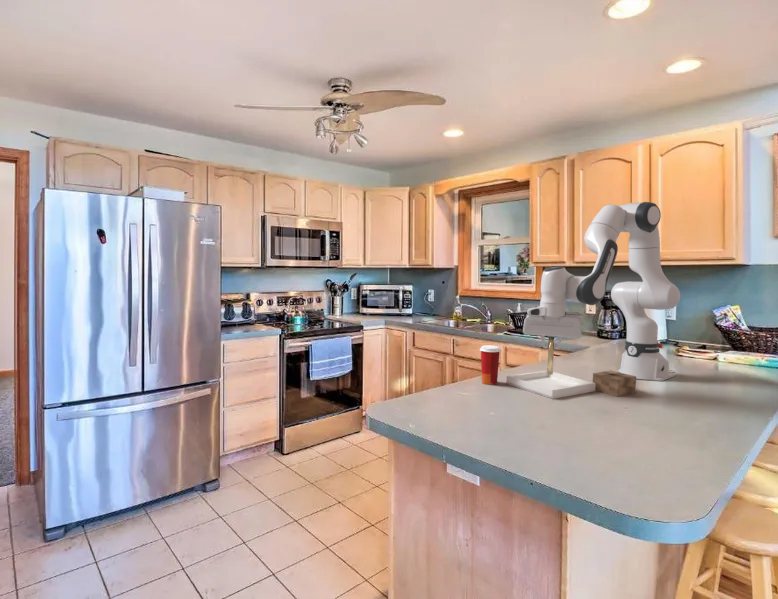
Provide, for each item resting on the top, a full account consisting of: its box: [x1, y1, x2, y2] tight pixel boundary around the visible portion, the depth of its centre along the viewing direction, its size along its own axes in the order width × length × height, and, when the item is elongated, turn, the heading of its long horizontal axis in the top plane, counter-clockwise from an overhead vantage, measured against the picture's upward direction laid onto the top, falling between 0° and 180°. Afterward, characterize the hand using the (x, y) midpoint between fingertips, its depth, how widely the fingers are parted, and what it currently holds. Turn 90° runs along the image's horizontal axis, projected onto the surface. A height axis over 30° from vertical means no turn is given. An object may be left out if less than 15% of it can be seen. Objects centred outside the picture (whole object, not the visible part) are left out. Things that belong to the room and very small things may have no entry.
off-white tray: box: [505, 370, 596, 400], centre depth 167 cm, size 22×22×3 cm
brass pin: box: [546, 336, 556, 375], centre depth 166 cm, size 3×3×15 cm
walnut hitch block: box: [592, 370, 637, 397], centre depth 163 cm, size 10×10×6 cm
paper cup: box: [479, 344, 501, 386], centre depth 172 cm, size 8×8×14 cm
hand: (551, 348), depth 166 cm, fingers closed on brass pin, 2 cm apart
